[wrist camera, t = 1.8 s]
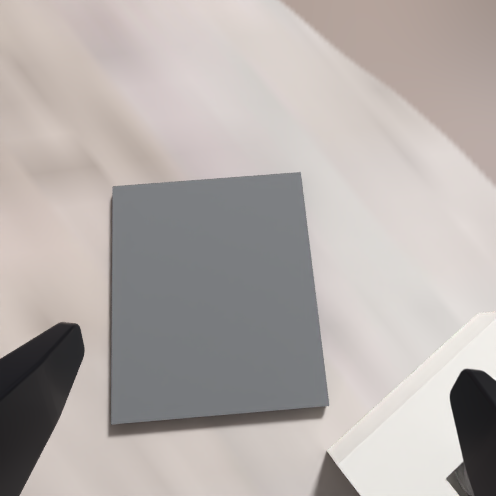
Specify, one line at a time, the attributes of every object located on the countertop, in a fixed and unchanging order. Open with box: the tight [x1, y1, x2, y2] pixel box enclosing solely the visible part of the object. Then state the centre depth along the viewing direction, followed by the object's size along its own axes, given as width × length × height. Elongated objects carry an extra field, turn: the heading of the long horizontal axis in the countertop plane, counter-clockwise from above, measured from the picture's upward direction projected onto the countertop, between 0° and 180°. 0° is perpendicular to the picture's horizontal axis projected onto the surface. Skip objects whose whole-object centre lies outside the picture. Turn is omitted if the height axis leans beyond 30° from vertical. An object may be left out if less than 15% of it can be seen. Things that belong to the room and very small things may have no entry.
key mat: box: [111, 172, 329, 424], centre depth 23 cm, size 14×12×1 cm
